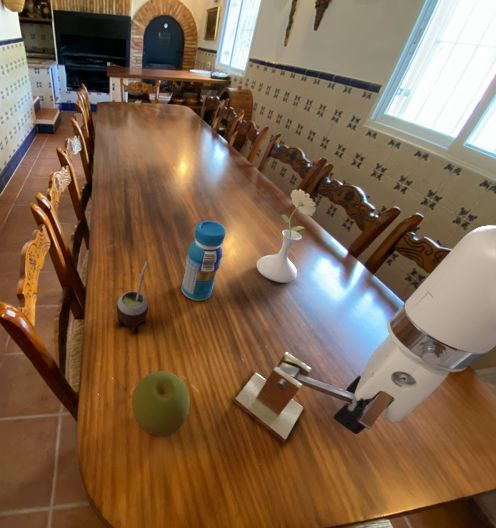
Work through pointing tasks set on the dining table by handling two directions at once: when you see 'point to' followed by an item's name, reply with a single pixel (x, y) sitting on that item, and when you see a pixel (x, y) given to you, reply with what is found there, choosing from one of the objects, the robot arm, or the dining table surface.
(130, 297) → the mate gourd
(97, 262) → the dining table surface
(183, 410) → the apple
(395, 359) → the robot arm
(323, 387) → the lever
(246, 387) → the bracket
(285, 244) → the flower in vase
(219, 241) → the beverage bottle
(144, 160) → the dining table surface
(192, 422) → the dining table surface
